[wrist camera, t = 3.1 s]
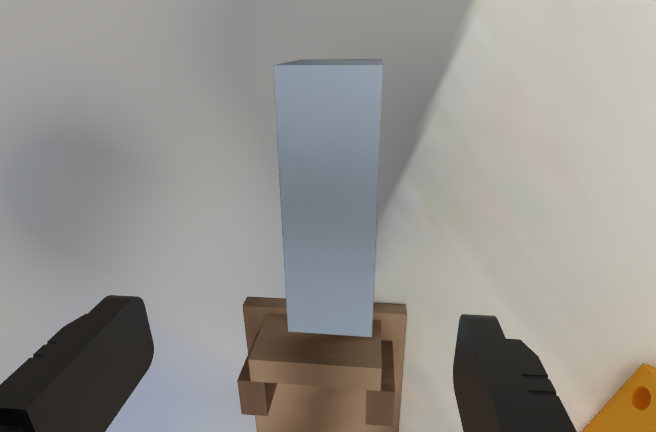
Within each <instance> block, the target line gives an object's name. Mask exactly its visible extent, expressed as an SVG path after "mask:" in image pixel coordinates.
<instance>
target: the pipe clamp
mask: <svg viewBox="0 0 656 432" xmlns="http://www.w3.org/2000/svg"><path fill="white" fill-rule="evenodd" d="M582 432H656V368H655V367H652V366H649V365H646V364H644V363H643V364H642V365H641V366H640V368H639V369H638V370H637V371H636V372H635V373H634V374H633V375H632V377H631V378H630V379H629V380H628V381H627V382H626V383H625V384H624V385H623V387H622V388H621V389H620V390H619V391H618V392H617V393H616V394H615V395H614V397H613V398H612V399H611V400H610V401H609V402H608V403H607V404H606V406H605V407H604V408H603V409H602V410H601V411H600V412H599V413H598V414H597V416H596V417H595V418H594V419H593V420H592V421H591V422H590V423H589V424H588V426H587V427H586V428H585V429H584V430H583V431H582Z"/></svg>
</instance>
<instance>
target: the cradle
mask: <svg viewBox="0 0 656 432" xmlns="http://www.w3.org/2000/svg"><path fill="white" fill-rule="evenodd" d="M243 313H244V321H245V330H246V340H247V348H248V356H247V359H246V361H245V363H244V366H243V368H242V371H241V373H240V376H239V378H238V380H237V381H238V389H239V396H240V404H241V411H242V414H247V415H255V419H256V427H257V432H399V418H400V404H401V390H402V376H403V362H404V348H405V334H406V320H407V311H406V305H398V304H379V303H373V322H372V337H362V336H347V335H332V334H318V333H303V332H288V321H287V303H286V299H282V298H281V299H280V298H262V297H247V298H246V300H245V302H244V304H243Z"/></svg>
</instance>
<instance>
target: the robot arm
mask: <svg viewBox="0 0 656 432" xmlns="http://www.w3.org/2000/svg"><path fill="white" fill-rule="evenodd" d="M153 353H154V344H153V340H152V335H151V331H150V327H149V322H148V318H147V313H146V309H145V305H144V302H143V300H142V299H141V298H140V297H133V296H114V295H110V296H107V297H105V298H104V299H103V300H102V301H101V302H100V303H99V304H98V305H97V306H95V307H94V308H93V309H92V310H91V311H90V312H89V313H88V314H85V315H83V316H81V317H80V318H78V319H76V320H74V321H73V322H71V323H69V324H67V325H66V326H64V327H63V328H62V329H61V330H60V331H58V332H57V333H56V334H55V335H54V336H53V337H52V338H51V339H50V340H49V341H48V343H47V345H43V346H42V347H41V348H40V349H39V350H38V351H37V352H36V353H34V356H33V358H29V359H28V360H27V361H26V362H25V363H24V364H22V365H21V366H20V367H19V368H18V369H17V370H16V371H15V372H14V373H13V374H12V375H10V376H9V377H8V378H7V379H6V380H5V381H4V382H3V383H2V384H1V385H0V432H105V431H106V429H107V428H108V427H109V425H110V424H111V422H112V421H113V419H114V418H115V416H116V415H117V414H118V412H119V411H120V409H121V408H122V406H123V405H124V404H125V402H126V400H127V399H128V398H129V396H130V395H131V393H132V392H133V391H134V389H135V388H136V386H137V385H138V383H139V382H140V380H141V379H142V378H143V376H144V375H145V373H146V372H147V370H148V369H149V367H150V364H151V362H152V359H153ZM453 382H454V390H455V395H456V400H457V404H458V409H459V413H460V418H461V422H462V427H463V431H464V432H577V431H576V430H575V428H574V426H573V424H572V422H571V420H570V418H569V416H568V414H567V412H566V410H565V408H564V406H563V404H562V402H561V400H560V398H559V396H557V395H556V390H555V389H554V387H553V385H552V383H551V381H550V379H548V375H547V373H546V371H545V369H544V367H543V365H542V363H541V361H540V359H539V357H538V356H537V355H536V354H535V353H534V352H533V351H532V350H531V349H530V348H529V347H527V346H526V345H525V344H524V343H523V342H522V341H521V340H518V339H506V338H505V336H504V334H503V331H502V329H501V327H500V324H499V322H498V320H497V318H496V317H495V316H486V315H466V314H462V315H461V317H460V320H459V327H458V335H457V342H456V350H455V357H454V365H453Z"/></svg>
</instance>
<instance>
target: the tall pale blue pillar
mask: <svg viewBox="0 0 656 432" xmlns="http://www.w3.org/2000/svg"><path fill="white" fill-rule="evenodd" d="M273 70H274V89H275V105H276V106H275V107H276V123H277V141H278V159H279V176H280V177H279V178H280V196H281V213H282V231H283V248H284V267H285V285H286V303H287V321H288V332H303V333H318V334H332V335H347V336H362V337H372V322H373V298H374V274H375V249H376V225H377V201H378V175H379V151H380V127H381V103H382V79H383V63H382V60H381V59H360V60H359V59H357V60H356V59H354V60H353V59H351V60H350V59H349V60H298V61H292V62H287V63H282V64H278V65H273Z"/></svg>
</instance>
